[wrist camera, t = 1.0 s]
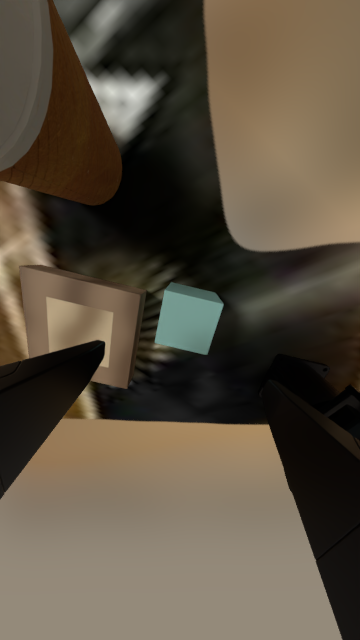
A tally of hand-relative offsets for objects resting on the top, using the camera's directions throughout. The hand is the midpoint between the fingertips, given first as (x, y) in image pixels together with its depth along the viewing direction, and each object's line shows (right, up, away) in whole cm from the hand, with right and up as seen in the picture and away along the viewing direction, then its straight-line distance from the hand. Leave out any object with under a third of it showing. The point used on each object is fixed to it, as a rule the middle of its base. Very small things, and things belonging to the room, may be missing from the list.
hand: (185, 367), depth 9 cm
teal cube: (+1, +4, +10) cm, 11 cm away
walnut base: (-11, +2, +12) cm, 16 cm away
